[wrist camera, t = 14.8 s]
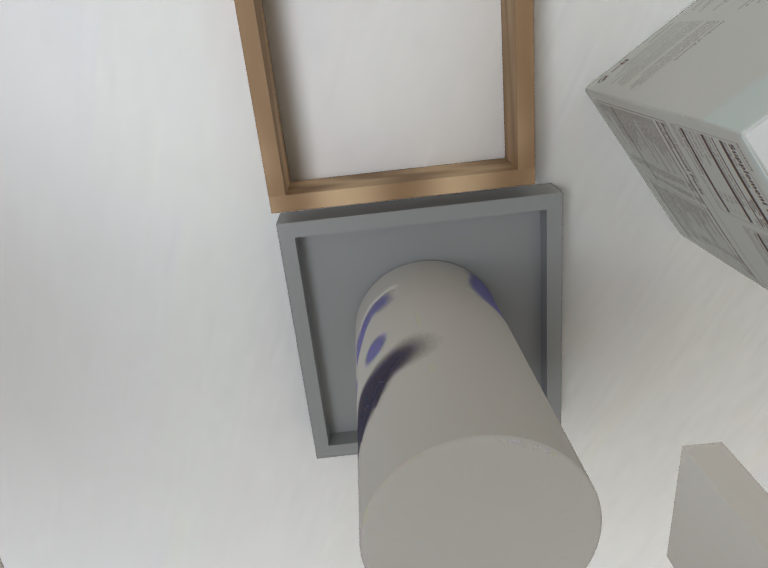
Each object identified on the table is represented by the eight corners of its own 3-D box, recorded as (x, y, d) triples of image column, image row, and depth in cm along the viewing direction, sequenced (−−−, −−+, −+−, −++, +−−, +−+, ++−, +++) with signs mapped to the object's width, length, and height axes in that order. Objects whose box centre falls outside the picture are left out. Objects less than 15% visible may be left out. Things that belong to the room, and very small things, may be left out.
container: (357, 257, 42) (363, 438, 24) (505, 261, 43) (624, 439, 24) (353, 387, 46) (356, 631, 27) (489, 388, 46) (582, 628, 28)
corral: (277, 198, 41) (271, 213, 38) (230, -81, 35) (218, -91, 32) (520, 171, 41) (535, 184, 38) (515, -112, 35) (532, -125, 32)
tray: (318, 437, 49) (316, 458, 46) (280, 213, 42) (276, 224, 39) (550, 411, 49) (560, 430, 46) (551, 183, 42) (562, 192, 40)
